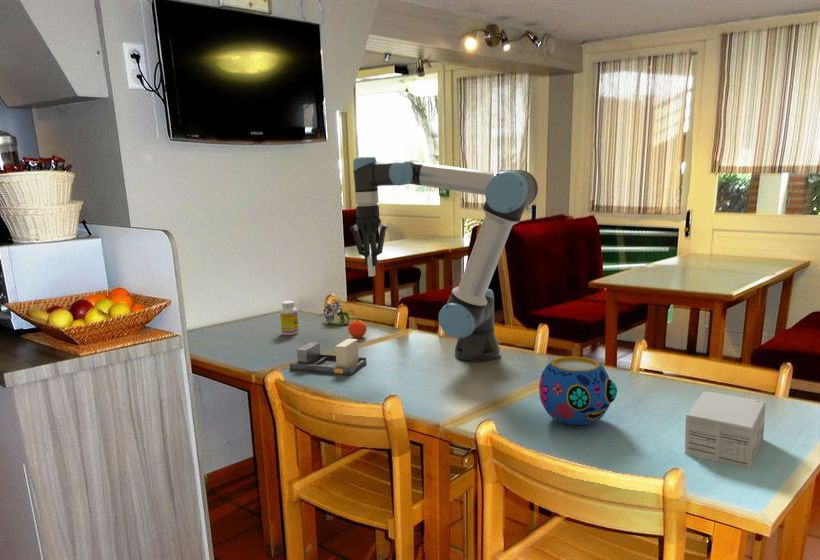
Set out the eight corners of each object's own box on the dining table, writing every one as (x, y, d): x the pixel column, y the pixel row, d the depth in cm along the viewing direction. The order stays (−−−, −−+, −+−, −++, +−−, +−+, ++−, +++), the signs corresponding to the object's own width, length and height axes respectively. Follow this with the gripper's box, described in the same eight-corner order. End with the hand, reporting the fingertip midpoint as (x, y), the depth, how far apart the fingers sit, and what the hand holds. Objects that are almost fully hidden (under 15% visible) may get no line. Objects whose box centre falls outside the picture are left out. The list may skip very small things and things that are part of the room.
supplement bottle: (296, 335, 245) (294, 303, 243) (280, 336, 245) (277, 304, 243) (300, 331, 251) (297, 300, 249) (283, 331, 252) (281, 300, 249)
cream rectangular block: (358, 362, 206) (357, 339, 204) (346, 371, 197) (345, 346, 196) (349, 361, 207) (347, 338, 205) (336, 370, 199) (335, 346, 197)
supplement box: (701, 427, 150) (703, 390, 148) (763, 440, 142) (766, 400, 140) (683, 454, 136) (684, 413, 135) (750, 469, 129) (753, 427, 127)
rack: (366, 363, 206) (365, 344, 205) (350, 375, 195) (348, 355, 194) (308, 358, 214) (307, 340, 213) (289, 370, 203) (288, 350, 202)
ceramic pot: (568, 441, 144) (569, 379, 141) (525, 415, 160) (524, 358, 157) (627, 427, 151) (629, 367, 148) (580, 402, 167) (581, 348, 164)
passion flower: (329, 336, 262) (315, 312, 264) (350, 327, 269) (336, 303, 271) (339, 326, 253) (324, 301, 255) (360, 316, 260) (345, 292, 262)
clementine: (345, 336, 241) (344, 318, 240) (362, 333, 244) (361, 316, 243) (352, 341, 234) (351, 322, 233) (369, 338, 237) (368, 320, 236)
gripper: (389, 203, 206) (394, 273, 210) (353, 204, 210) (358, 273, 214) (382, 204, 199) (386, 277, 203) (344, 206, 203) (349, 277, 207)
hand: (372, 275), depth 208 cm, fingers closed
